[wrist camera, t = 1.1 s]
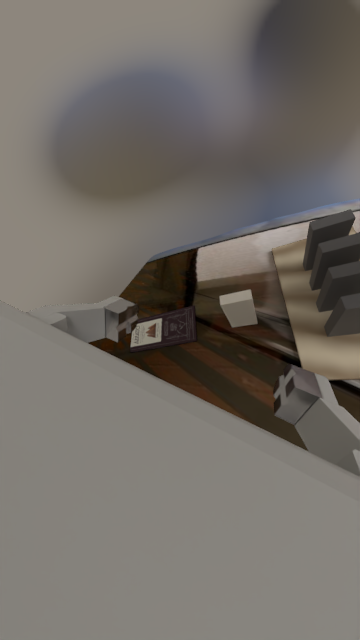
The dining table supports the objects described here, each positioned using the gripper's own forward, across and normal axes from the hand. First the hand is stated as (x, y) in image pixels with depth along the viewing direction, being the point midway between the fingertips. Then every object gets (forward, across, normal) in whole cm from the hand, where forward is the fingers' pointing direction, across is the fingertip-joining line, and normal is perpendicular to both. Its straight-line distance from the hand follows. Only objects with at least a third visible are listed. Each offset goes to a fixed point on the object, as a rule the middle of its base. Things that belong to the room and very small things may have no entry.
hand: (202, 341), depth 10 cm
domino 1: (+28, -3, +11) cm, 31 cm away
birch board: (+31, -15, +3) cm, 35 cm away
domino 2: (+36, -12, -2) cm, 38 cm away
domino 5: (+26, -18, +6) cm, 32 cm away
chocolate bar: (+28, +14, +21) cm, 38 cm away
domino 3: (+32, -14, +1) cm, 35 cm away
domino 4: (+29, -16, +3) cm, 33 cm away
